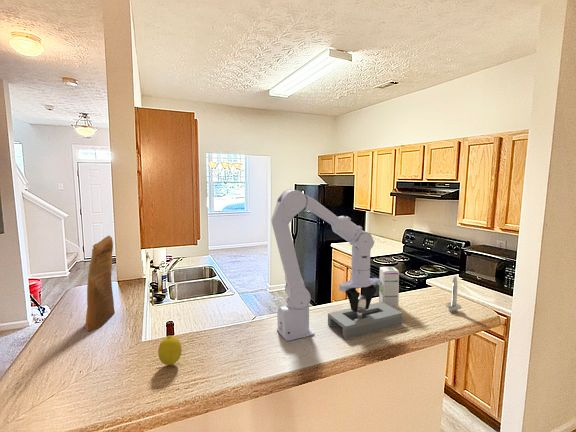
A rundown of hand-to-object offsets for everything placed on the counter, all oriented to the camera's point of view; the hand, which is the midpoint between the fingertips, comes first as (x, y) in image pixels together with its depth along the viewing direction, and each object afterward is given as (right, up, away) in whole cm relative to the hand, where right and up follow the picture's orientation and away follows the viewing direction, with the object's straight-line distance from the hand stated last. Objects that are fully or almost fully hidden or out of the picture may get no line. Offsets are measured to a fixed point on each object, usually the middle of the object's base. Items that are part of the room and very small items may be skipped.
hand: (359, 309), depth 97 cm
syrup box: (+14, -4, +16) cm, 22 cm away
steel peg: (0, -5, +1) cm, 5 cm away
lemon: (-53, -9, -20) cm, 57 cm away
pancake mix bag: (-86, -6, +6) cm, 87 cm away
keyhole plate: (+2, -6, +2) cm, 6 cm away
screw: (+36, -4, +11) cm, 38 cm away
